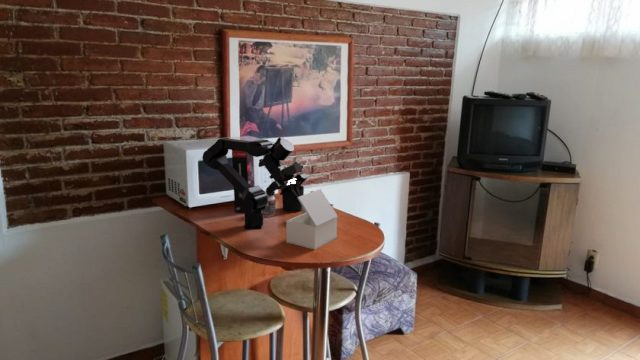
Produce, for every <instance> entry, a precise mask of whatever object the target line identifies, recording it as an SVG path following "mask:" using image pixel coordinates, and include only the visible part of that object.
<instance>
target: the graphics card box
mask: <svg viewBox="0 0 640 360" xmlns="http://www.w3.org/2000/svg"><path fill="white" fill-rule="evenodd" d="M254 158H255V157H254V156H252V155H249V154H248V153H247V152H243V151H236V150H231V162H232V167H233V168H234V169H235V170H236V171H237V172H238V173H239V174H240V175H241V176H242V177H243V178H244V179H245V180H246V181H247V182H248V183H249V184H250V185H251V186H253V187H254V186H256V185H255V183H256V182H255V164H254V163H255V162H254V161H255V160H254ZM233 198H234V199H233V200H234V213H238V214H239V213H240V214H241V213H242V212H241V210H240V207H241V206H242V204H243V203H244V202H243V199H242V195H241V193H240V192H239V191H238V190H237V189H236V188H235V187H234V186H233ZM242 214H243V213H242Z"/></svg>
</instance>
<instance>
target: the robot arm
mask: <svg viewBox="0 0 640 360" xmlns="http://www.w3.org/2000/svg"><path fill="white" fill-rule="evenodd" d="M229 150H230V151H232V150H236V151H243V152H247V153H248V154H249V155H252V156H253V157H254V158H260V157H263V158H260V159H258V167H259V168H261V167H265V169H266V170H267V171H268V173H269V174H270V175H269V179H270V180H272V179H273V180H272V182H271V183H270V184H269V185H268V186H267V187H266V188H265V190H264V189H263V188H262V187H261V186H260V185H259V184H257V185H255V186H254V187H253V186H251V185H250V184H249V183H248V182H247V181H246V180H245V179H244V178H243V177H242V176H241V175H240V174H239V173H238V172H237V171H236V170H235V169H234V168H233V165H231V164H230V163H229V162H228V161H229V160H228V157H227V155H228V153H229ZM294 150H295V146H294V144H293V143H292V142H291V141H289V140H288V139H286V138H284V136H279V137H278V138H277V139H276V141H275V142H274V143H271V142H270V140H269V139H259V140H246V139H245V140H243V139H236V138H229V137H222V138H218V139H217V140H216V142H215V143H213V144H212V145H210V147H208V148H207V149H206V150H204V152H203V154H202V157H201V158H202V162H203V163H204V165H206V166H208V168H210V169H213V170H216V171H217V172H219V174H221V175H222V176H223V177H224V178H225V179H226V180H227V181H228V183H230V184H231V185H232V186H233V188H234V187H235V188H236V189H237V190H238V191H239V192H240V193H241V195H242V199H243V202H244V203H243V204H242V206H241V207H240V210H241V212H242V214H244V227H243V229H246V230H250V229H251V230H252V229H253V230H255V229H256V230H257V229H259V230H260V229H263V228H262V227H263V226H264V216H263V214H262V210H264V209H265V207H266V204H267V202H268V197H267V195H268V196H269V197H270V196H273V195H274V196H275V194H276V193H275V191H278V190H280V191H281V192H280V193H279V196H282V195H283V196H285V197H287V198H289V199H291V200H293V201H295V202H297V203H298V204H300V201H299V200H298V197H299V196H301V195H300V192H299V186H303V184H304V183H305V182H306V181H307V179H309V176H308V175H307V173H305V172H303V170H304V164H303V163H302V162H300V160H298V161H296V162H293V163H292V164H291V165H287V164H286V165H284V164H283V163H282V161H285V160H286V159H287V158H288V157H289V156H290V155H291V154H292V152H293V151H294ZM265 191H266V193H267V195H266V193H265Z"/></svg>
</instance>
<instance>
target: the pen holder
mask: <svg viewBox="0 0 640 360" xmlns="http://www.w3.org/2000/svg"><path fill="white" fill-rule="evenodd" d="M299 192H300V195H301V196H302V195H305V193H304V192H305V187H304V186H303V185H301V186H299ZM281 197H282V198H281V200H282V202H281V203H282V210H283V211H284V212H287V213H298V212H302V205H301V203H300V204H298V203H297V202H295V201H293V200H291V199H289V198H287V197H285V196H283V195H281Z"/></svg>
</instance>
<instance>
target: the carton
mask: <svg viewBox="0 0 640 360" xmlns="http://www.w3.org/2000/svg"><path fill="white" fill-rule="evenodd" d="M285 223H286V225H285V227H286V229H285V230H286V233H285V234H286V236H285V237H286V240H285V241H286V243H287V244H290V245H293V246H294V245H296V246H298V247H299V246H300V247H303V248H307V249H311V250H314V251H315V250H317V249H319V248H321V247H323V246H325V245H326V244H328V243H330V242H332V241H334V240H336V239H337V237H338V236H337V235H338V231H337V230H338V216H337V217H336V218H333V219H331V220H329V221H327V222H325V223H323V224H321V225H318V226H316V227H315V225H314V224H313V222H312V220H311V219H310V217H309V216H308V214H307V213H304V214H302V213H301V214H299V215H296V216H294V217H292V218H290V219H288V220H286V222H285Z"/></svg>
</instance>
